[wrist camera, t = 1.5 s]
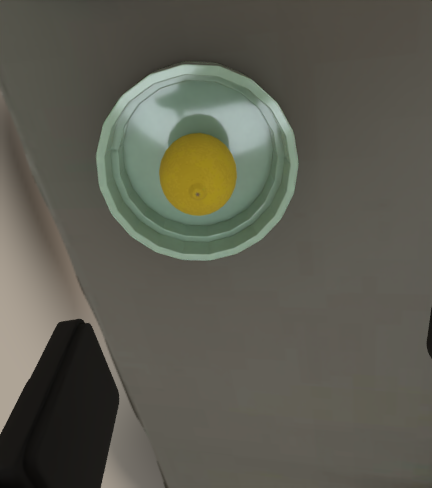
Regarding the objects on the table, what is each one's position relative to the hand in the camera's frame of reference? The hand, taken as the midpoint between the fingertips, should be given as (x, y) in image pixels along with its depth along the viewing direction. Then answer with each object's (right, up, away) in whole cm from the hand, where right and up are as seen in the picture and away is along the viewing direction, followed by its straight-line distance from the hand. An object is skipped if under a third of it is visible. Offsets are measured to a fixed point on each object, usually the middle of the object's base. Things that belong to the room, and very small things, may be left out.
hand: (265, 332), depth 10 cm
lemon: (-3, +9, +20) cm, 23 cm away
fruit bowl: (-3, +10, +20) cm, 23 cm away
